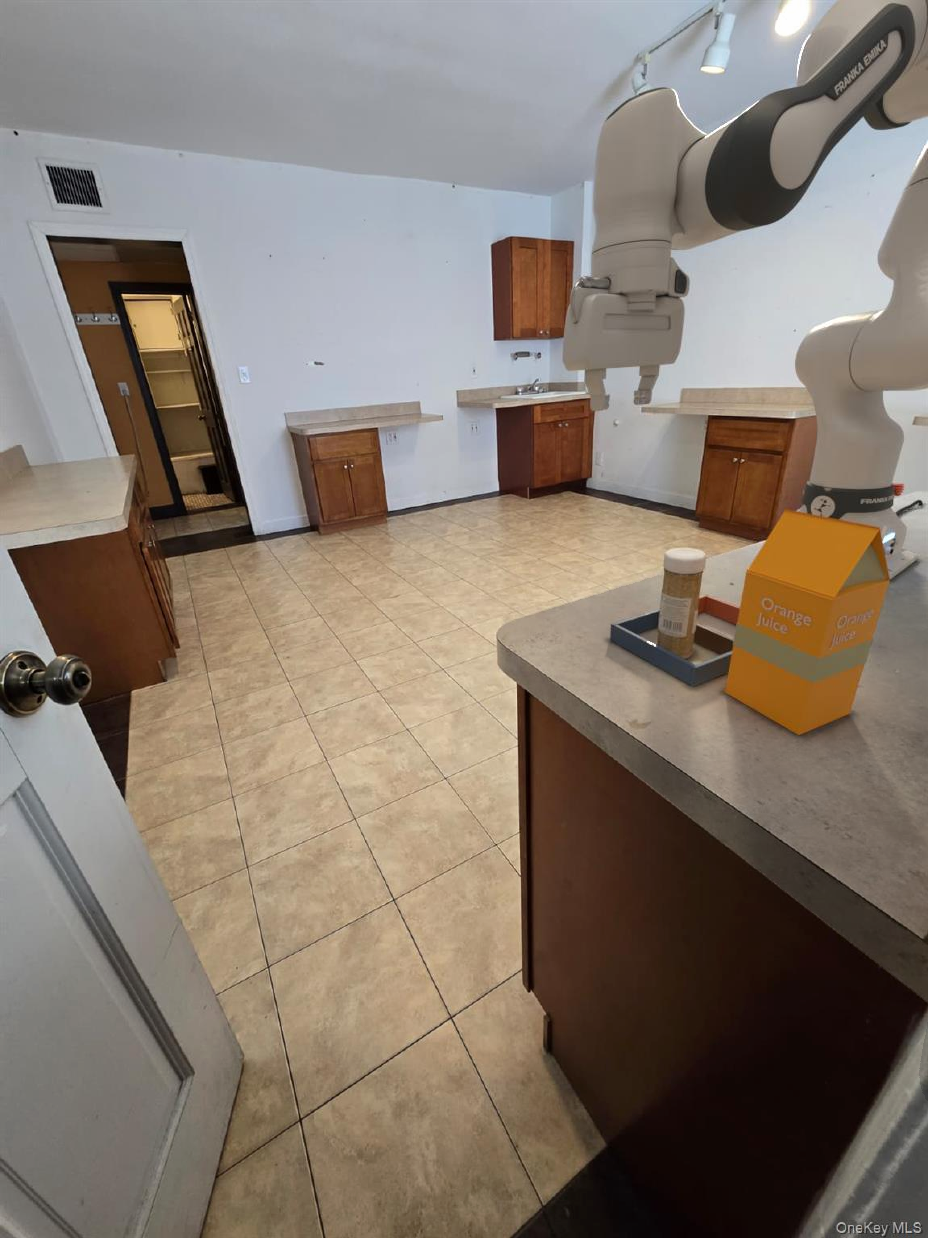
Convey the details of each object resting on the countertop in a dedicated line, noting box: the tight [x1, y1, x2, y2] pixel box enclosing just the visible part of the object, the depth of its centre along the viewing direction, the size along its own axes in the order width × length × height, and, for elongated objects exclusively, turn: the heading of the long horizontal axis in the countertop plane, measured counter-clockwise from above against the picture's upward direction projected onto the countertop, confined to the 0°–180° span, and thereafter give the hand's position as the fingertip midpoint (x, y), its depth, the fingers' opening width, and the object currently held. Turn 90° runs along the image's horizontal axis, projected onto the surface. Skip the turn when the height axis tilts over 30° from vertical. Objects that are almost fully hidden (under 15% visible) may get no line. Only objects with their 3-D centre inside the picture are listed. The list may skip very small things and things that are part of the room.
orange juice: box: [724, 508, 891, 736], centre depth 50 cm, size 8×9×20 cm
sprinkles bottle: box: [655, 547, 707, 660], centre depth 63 cm, size 5×5×14 cm
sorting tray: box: [609, 594, 740, 688], centre depth 67 cm, size 18×14×2 cm
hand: (621, 407), depth 66 cm, fingers open, 8 cm apart
